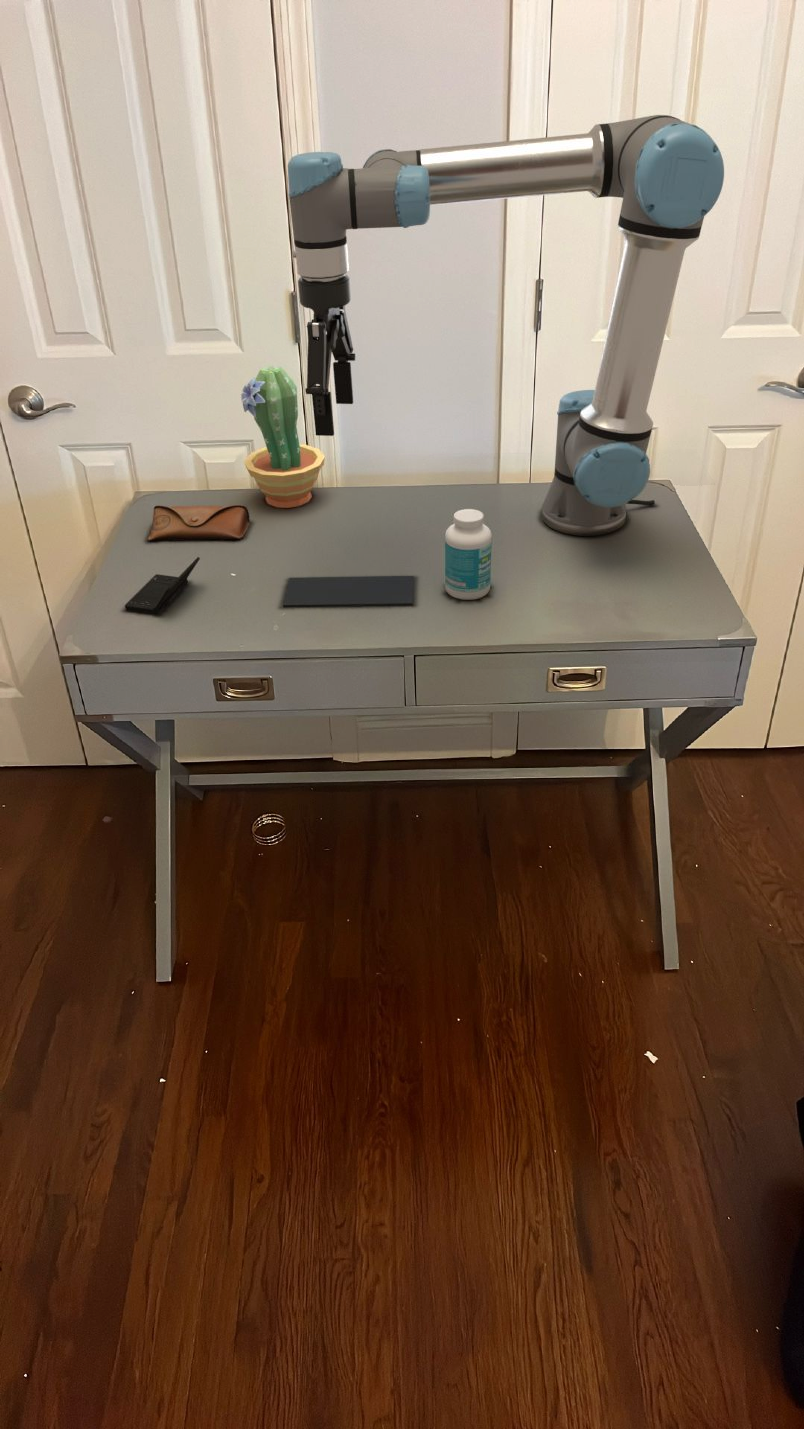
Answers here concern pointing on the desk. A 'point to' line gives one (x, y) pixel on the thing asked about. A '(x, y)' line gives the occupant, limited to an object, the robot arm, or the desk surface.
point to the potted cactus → (280, 441)
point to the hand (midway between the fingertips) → (335, 418)
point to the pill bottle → (468, 556)
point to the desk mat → (349, 591)
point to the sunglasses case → (199, 522)
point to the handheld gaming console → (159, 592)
